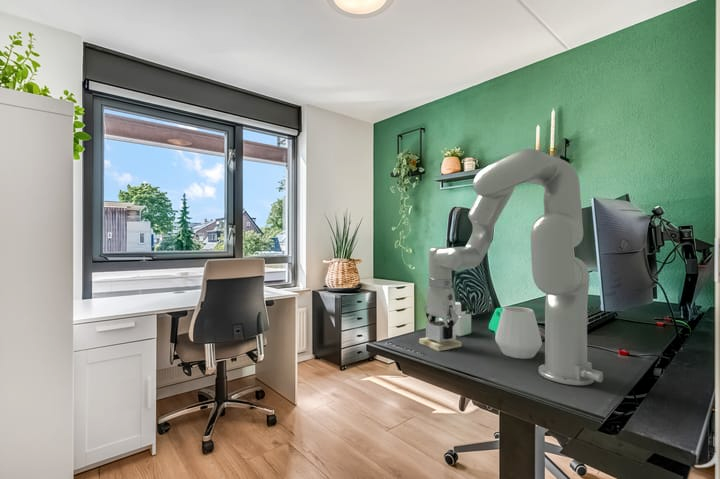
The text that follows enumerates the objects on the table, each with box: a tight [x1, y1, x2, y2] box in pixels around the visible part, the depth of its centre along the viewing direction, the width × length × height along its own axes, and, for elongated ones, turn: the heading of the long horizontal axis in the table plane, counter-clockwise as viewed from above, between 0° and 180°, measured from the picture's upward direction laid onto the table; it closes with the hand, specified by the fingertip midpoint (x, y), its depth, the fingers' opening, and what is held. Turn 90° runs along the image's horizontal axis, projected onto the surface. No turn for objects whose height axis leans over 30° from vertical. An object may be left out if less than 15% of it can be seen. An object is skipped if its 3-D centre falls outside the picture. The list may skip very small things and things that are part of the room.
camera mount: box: [488, 307, 504, 335], centre depth 133 cm, size 12×8×10 cm, turn 13°
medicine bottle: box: [447, 300, 472, 337], centre depth 135 cm, size 7×7×12 cm
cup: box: [494, 306, 543, 360], centre depth 111 cm, size 13×13×14 cm
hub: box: [425, 319, 457, 342], centre depth 120 cm, size 7×7×5 cm
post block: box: [418, 320, 463, 352], centre depth 120 cm, size 10×10×8 cm
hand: (440, 335), depth 120 cm, fingers closed on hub, 7 cm apart
